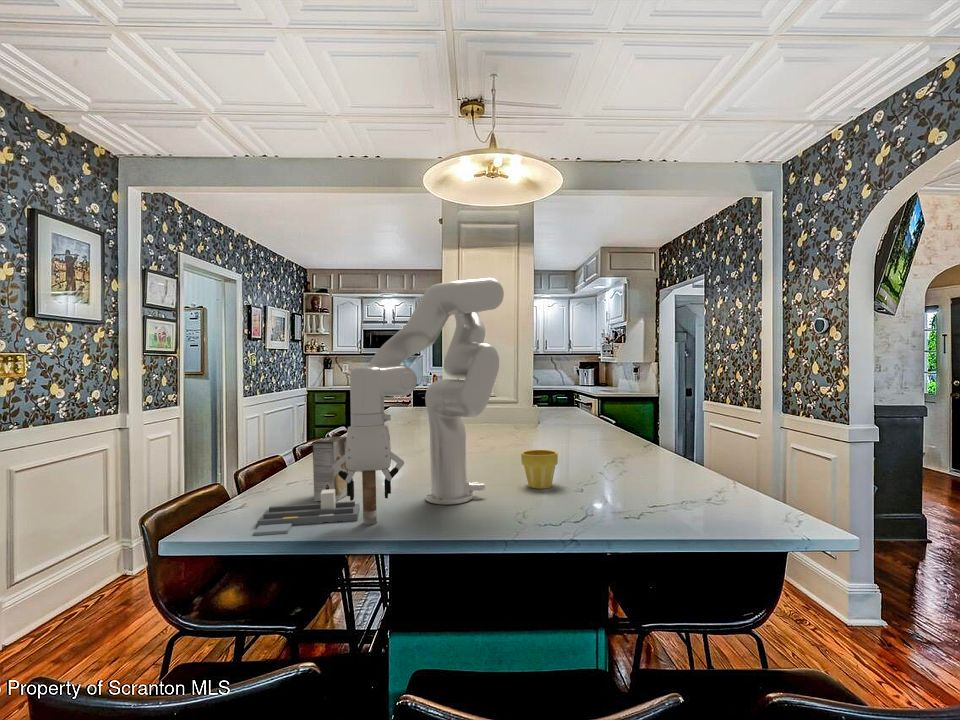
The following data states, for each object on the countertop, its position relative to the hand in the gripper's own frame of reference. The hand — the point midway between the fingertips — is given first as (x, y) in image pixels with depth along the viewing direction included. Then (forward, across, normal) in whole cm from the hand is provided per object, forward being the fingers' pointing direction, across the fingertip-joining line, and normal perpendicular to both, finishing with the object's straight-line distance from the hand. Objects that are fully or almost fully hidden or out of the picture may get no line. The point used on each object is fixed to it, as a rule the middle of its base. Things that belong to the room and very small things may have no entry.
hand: (369, 497), depth 120 cm
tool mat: (+6, +21, 0) cm, 22 cm away
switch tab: (+4, +10, -7) cm, 13 cm away
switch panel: (+6, +14, -7) cm, 17 cm away
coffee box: (+6, +11, -25) cm, 28 cm away
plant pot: (+6, -47, -23) cm, 53 cm away
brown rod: (+6, 0, 0) cm, 6 cm away
